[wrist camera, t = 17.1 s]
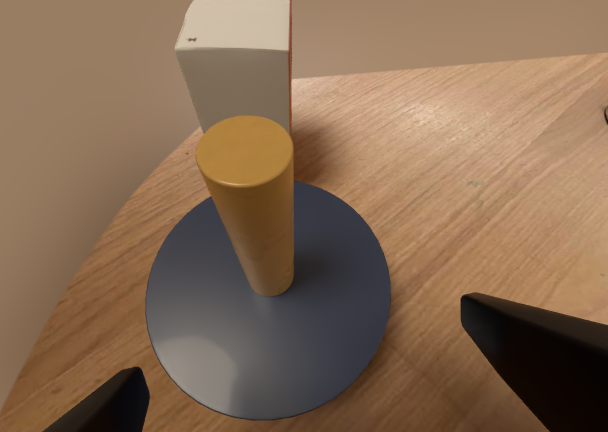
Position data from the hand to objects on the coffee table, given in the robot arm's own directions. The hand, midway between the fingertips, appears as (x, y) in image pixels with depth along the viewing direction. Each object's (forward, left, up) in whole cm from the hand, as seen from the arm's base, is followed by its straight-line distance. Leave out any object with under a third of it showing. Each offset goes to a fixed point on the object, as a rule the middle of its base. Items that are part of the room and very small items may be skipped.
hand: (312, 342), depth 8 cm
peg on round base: (-3, +4, -8) cm, 9 cm away
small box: (-8, +17, -13) cm, 23 cm away
